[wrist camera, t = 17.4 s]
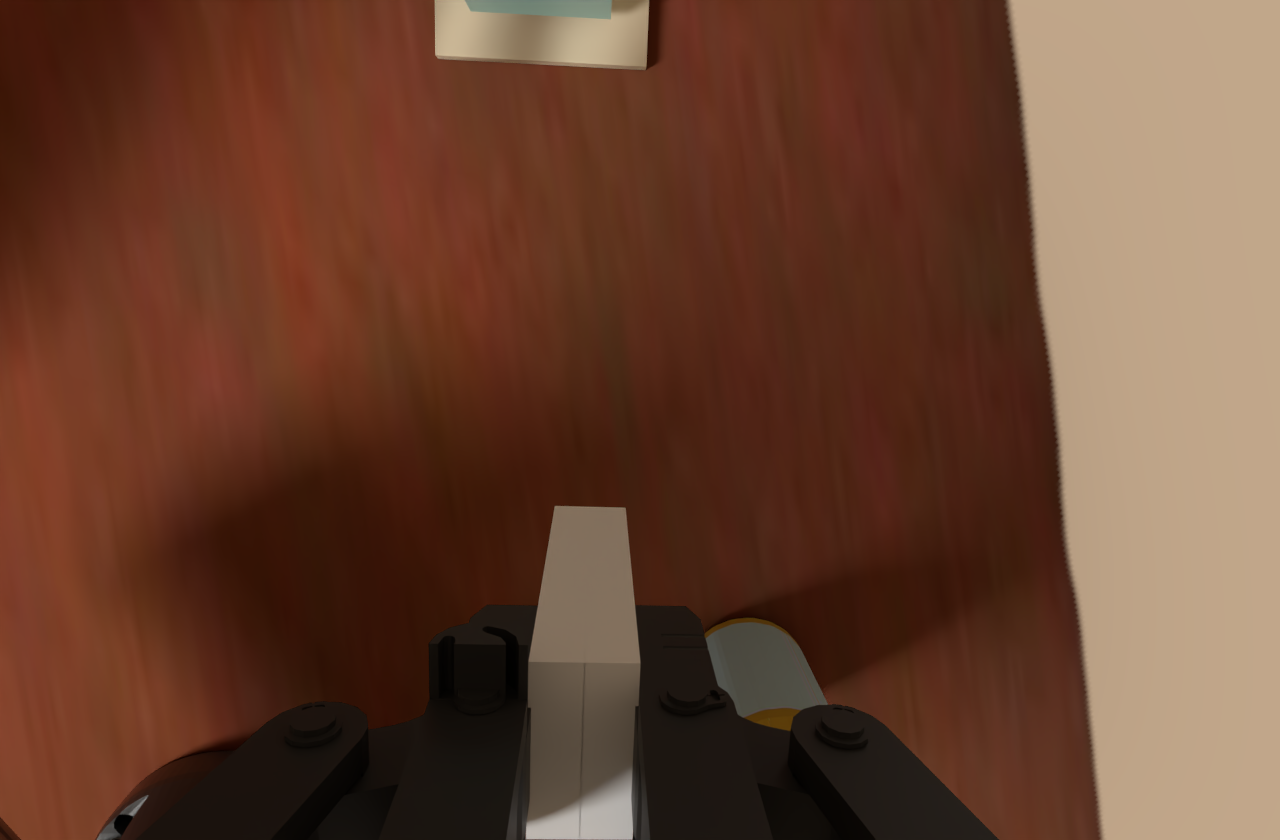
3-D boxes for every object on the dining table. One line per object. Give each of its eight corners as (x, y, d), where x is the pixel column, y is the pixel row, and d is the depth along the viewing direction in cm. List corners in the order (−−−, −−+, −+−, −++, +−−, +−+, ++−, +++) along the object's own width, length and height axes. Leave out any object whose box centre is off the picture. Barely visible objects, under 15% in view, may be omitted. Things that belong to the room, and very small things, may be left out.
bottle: (724, 591, 46) (781, 754, 32) (825, 648, 47) (926, 831, 33) (659, 688, 47) (686, 889, 33) (759, 742, 48) (829, 959, 34)
